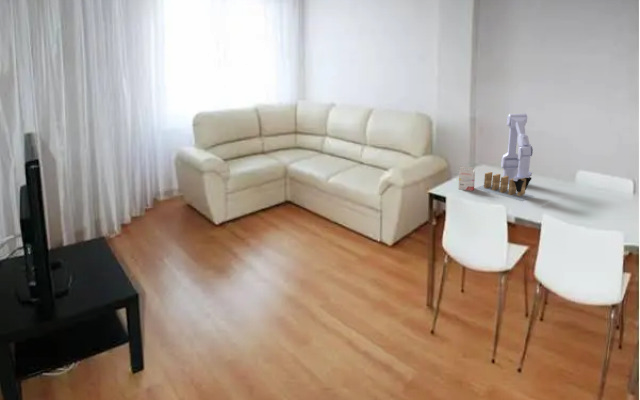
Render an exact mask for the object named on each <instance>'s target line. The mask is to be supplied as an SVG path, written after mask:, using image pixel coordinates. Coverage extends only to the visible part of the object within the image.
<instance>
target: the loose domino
mask: <svg viewBox="0 0 640 400" xmlns="http://www.w3.org/2000/svg"><path fill="white" fill-rule="evenodd" d="M521 180H522V181H524V183H523V185H522V189H521V192H517V195H518V196H521V195H524V194H526V190H525V187H526V179H525V178H523V179H521Z"/></svg>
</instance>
